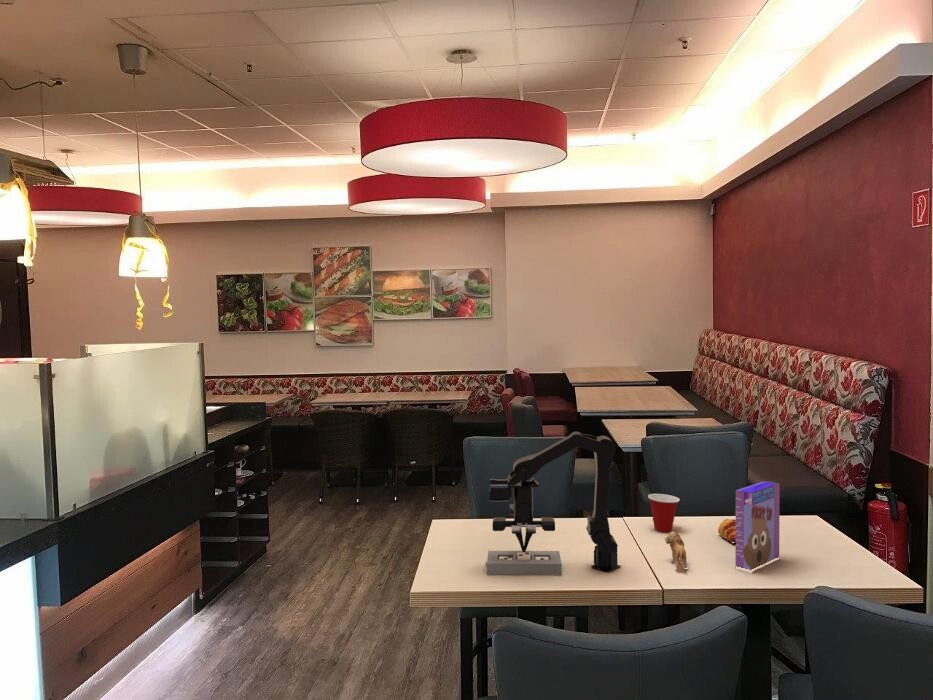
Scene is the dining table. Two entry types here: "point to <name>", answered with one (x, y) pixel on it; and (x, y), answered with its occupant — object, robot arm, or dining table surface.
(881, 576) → the dining table surface
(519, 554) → the tile two
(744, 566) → the cereal box
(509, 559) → the tile three
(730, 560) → the dining table surface
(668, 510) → the plastic cup
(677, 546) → the lion figurine
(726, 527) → the croissant
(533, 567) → the tile board
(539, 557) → the tile one
